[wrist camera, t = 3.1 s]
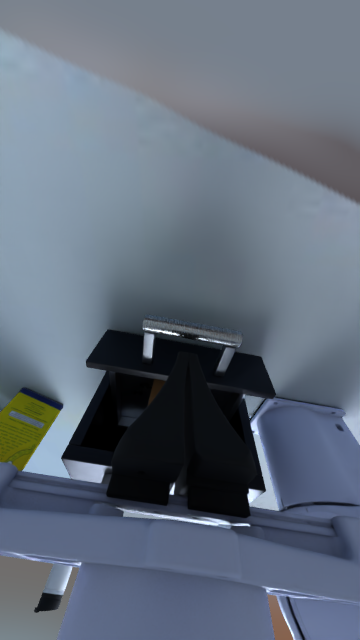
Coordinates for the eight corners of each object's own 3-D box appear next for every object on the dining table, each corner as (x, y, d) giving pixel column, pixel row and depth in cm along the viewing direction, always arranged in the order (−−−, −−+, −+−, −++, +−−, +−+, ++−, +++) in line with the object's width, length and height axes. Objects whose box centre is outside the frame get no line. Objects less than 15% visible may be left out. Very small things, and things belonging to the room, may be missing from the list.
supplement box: (51, 419, 30) (-14, 518, 20) (12, 402, 28) (-79, 503, 19) (65, 405, 27) (-3, 511, 18) (23, 386, 25) (-77, 494, 16)
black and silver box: (242, 390, 22) (270, 505, 14) (212, 442, 30) (217, 535, 21) (108, 367, 21) (53, 471, 13) (113, 426, 29) (80, 514, 21)
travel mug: (74, 513, 69) (35, 613, 53) (91, 517, 71) (58, 615, 54) (69, 515, 72) (31, 610, 56) (85, 519, 74) (53, 612, 57)
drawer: (282, 320, 16) (307, 355, 12) (221, 424, 26) (225, 460, 22) (104, 287, 15) (76, 313, 12) (113, 406, 25) (99, 440, 22)
